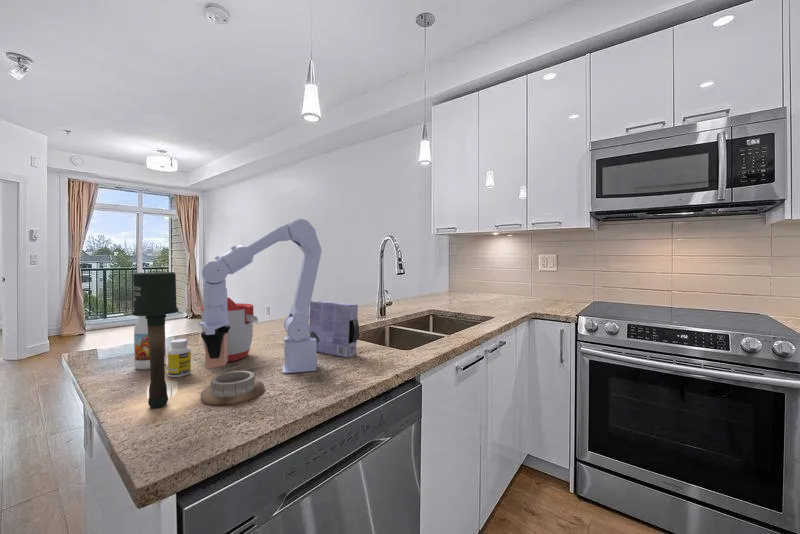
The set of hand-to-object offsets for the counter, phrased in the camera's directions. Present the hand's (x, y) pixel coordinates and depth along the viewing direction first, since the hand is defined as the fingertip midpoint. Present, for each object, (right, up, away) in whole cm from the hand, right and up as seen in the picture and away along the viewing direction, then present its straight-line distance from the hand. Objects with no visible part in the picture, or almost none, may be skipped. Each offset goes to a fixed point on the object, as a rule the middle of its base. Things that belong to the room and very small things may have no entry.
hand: (216, 355), depth 96 cm
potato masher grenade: (-5, -7, -17) cm, 19 cm away
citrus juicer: (-6, -6, +20) cm, 22 cm away
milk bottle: (-26, -6, +11) cm, 29 cm away
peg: (0, -2, 0) cm, 2 cm away
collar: (+9, -7, -10) cm, 15 cm away
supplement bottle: (-13, -7, +4) cm, 15 cm away
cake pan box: (+27, -6, +26) cm, 38 cm away
